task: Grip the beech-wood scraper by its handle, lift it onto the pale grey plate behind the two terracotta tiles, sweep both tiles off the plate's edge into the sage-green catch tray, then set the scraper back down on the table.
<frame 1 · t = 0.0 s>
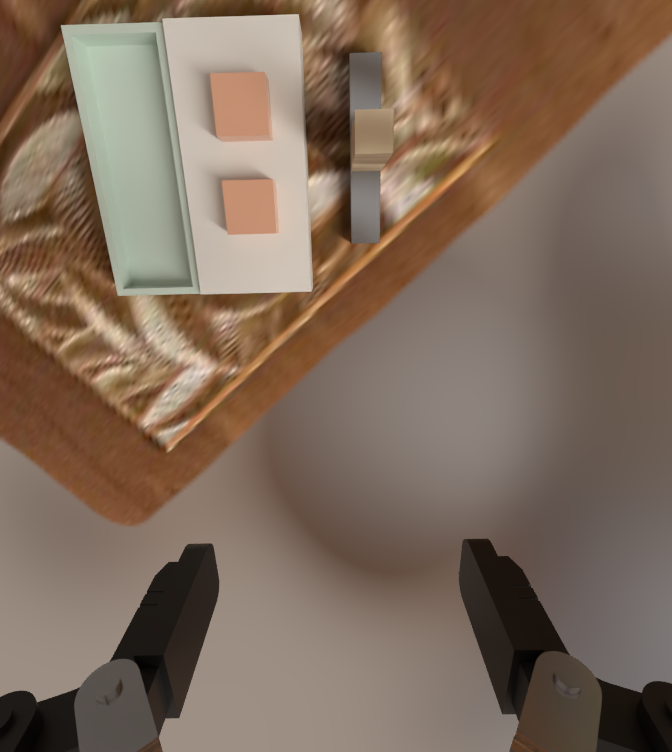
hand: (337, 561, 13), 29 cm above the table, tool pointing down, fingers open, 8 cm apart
tile b: (254, 208, 33), point 3 cm above the table, touching stone plate
catch tray: (150, 177, 35), on the table
stone plate: (251, 174, 35), on the table
scraper: (364, 158, 35), on the table
tile a: (245, 111, 31), point 3 cm above the table, touching stone plate
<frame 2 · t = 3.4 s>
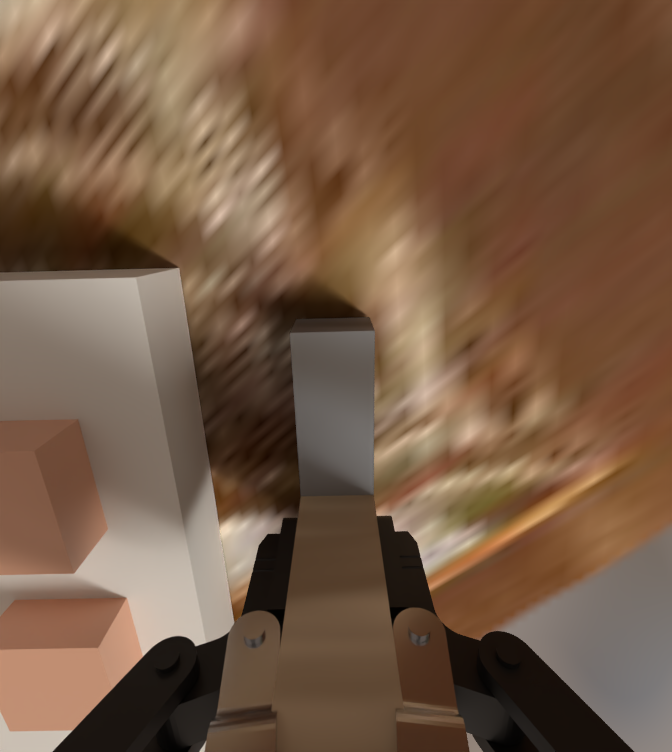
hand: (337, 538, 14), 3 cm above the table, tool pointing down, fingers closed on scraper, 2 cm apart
tile b: (84, 639, 15), point 3 cm above the table, touching stone plate
stone plate: (98, 518, 17), on the table
scraper: (337, 490, 16), on the table, touching gripper
tile a: (30, 478, 12), point 3 cm above the table, touching stone plate
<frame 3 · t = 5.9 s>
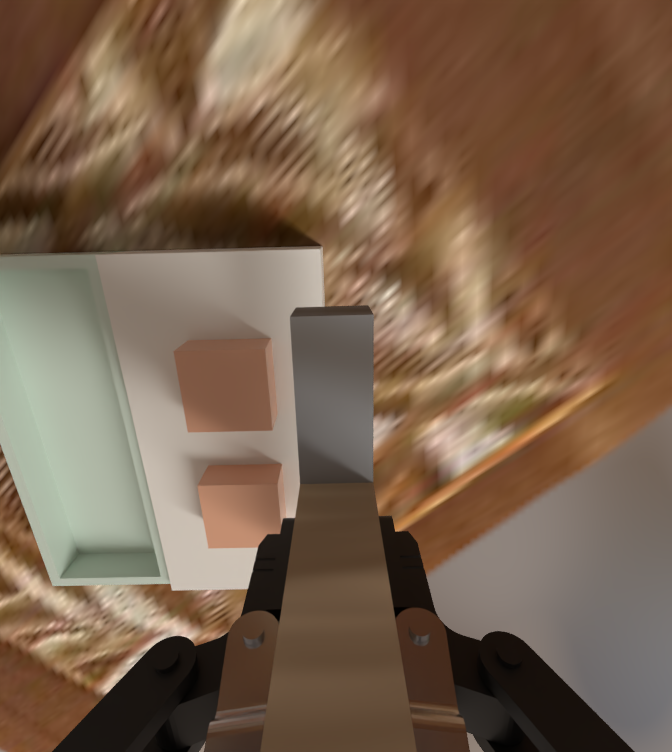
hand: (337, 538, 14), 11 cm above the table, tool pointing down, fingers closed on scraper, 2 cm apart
tile b: (248, 495, 22), point 3 cm above the table, touching stone plate
catch tray: (97, 425, 24), on the table
stone plate: (245, 422, 24), on the table
scraper: (337, 482, 16), point 8 cm above the table, touching gripper
tile a: (234, 378, 20), point 3 cm above the table, touching stone plate
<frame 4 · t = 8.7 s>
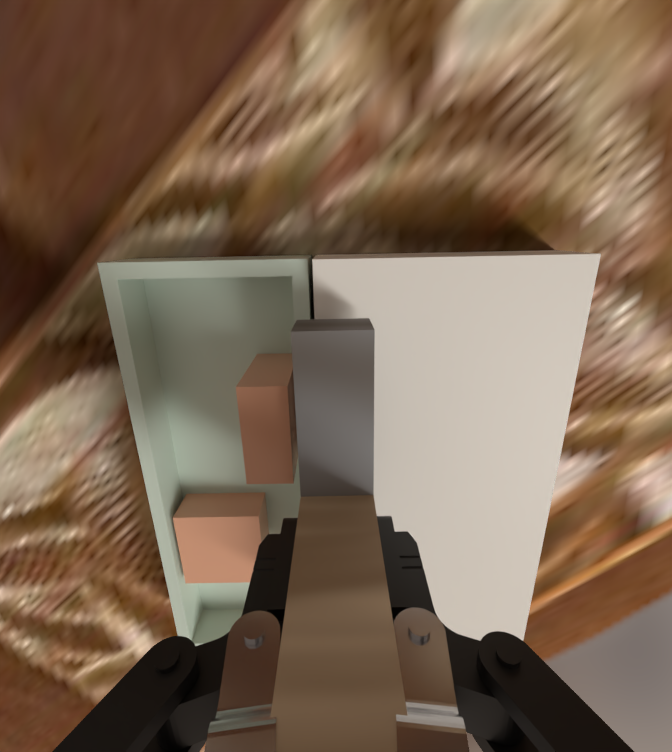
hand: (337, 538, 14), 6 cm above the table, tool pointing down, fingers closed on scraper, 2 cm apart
tile b: (220, 551, 19), point 2 cm above the table, tilted 180°, touching catch tray
catch tray: (244, 462, 20), on the table
stone plate: (422, 459, 20), on the table
scraper: (337, 492, 16), point 4 cm above the table, touching gripper
tile a: (295, 413, 16), point 2 cm above the table, tilted 90°, touching catch tray
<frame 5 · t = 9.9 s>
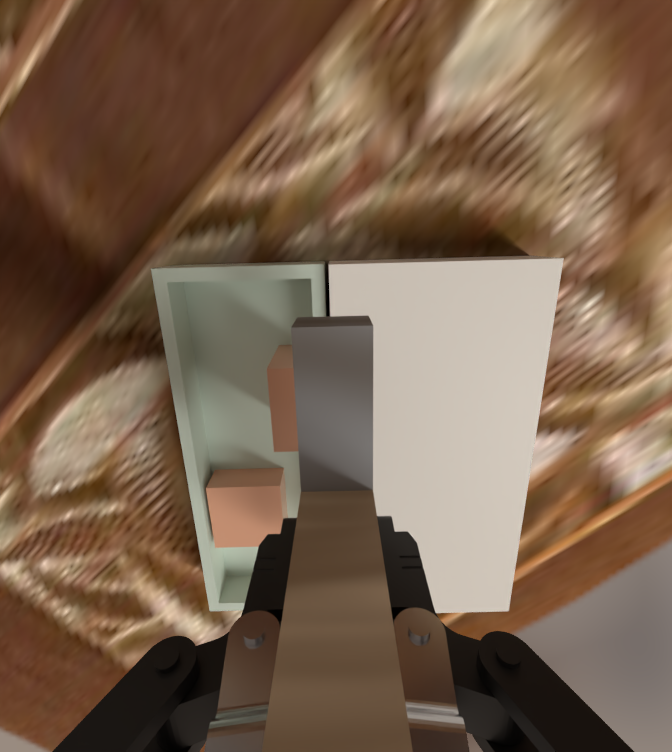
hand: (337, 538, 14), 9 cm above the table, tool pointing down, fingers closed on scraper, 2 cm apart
tile b: (246, 517, 22), point 2 cm above the table, tilted 180°, touching catch tray
catch tray: (265, 441, 23), on the table
stone plate: (420, 437, 23), on the table
scraper: (337, 489, 16), point 7 cm above the table, touching gripper
tile a: (313, 394, 19), point 2 cm above the table, tilted 90°, touching catch tray
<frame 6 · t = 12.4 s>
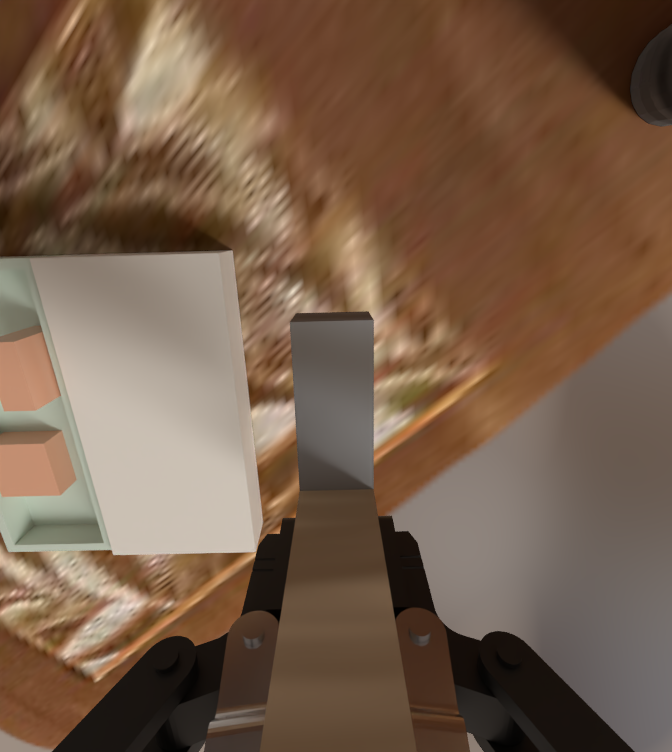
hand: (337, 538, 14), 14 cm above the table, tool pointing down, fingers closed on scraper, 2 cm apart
beverage cup: (671, 77, 21), on the table
tile b: (22, 471, 26), point 2 cm above the table, tilted 180°, touching catch tray
catch tray: (46, 408, 27), on the table
stone plate: (176, 405, 27), on the table
scraper: (337, 489, 16), point 12 cm above the table, touching gripper
tile a: (50, 365, 23), point 2 cm above the table, tilted 90°, touching catch tray
when the fingers open (4 cm above the table, at t = 14.3 s): scraper drops 2 cm, on the table.
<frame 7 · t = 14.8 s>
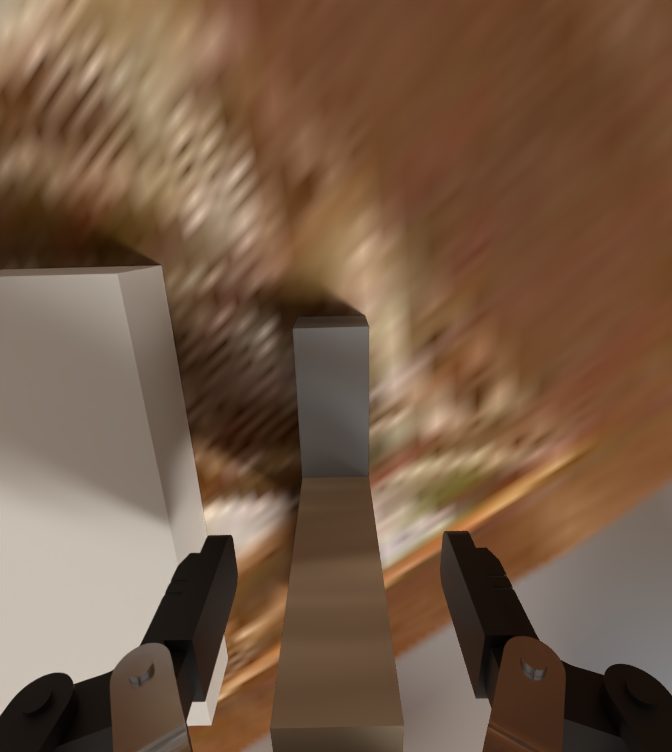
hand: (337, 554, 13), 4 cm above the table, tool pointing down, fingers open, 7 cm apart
stone plate: (88, 502, 17), on the table
scraper: (336, 475, 17), on the table
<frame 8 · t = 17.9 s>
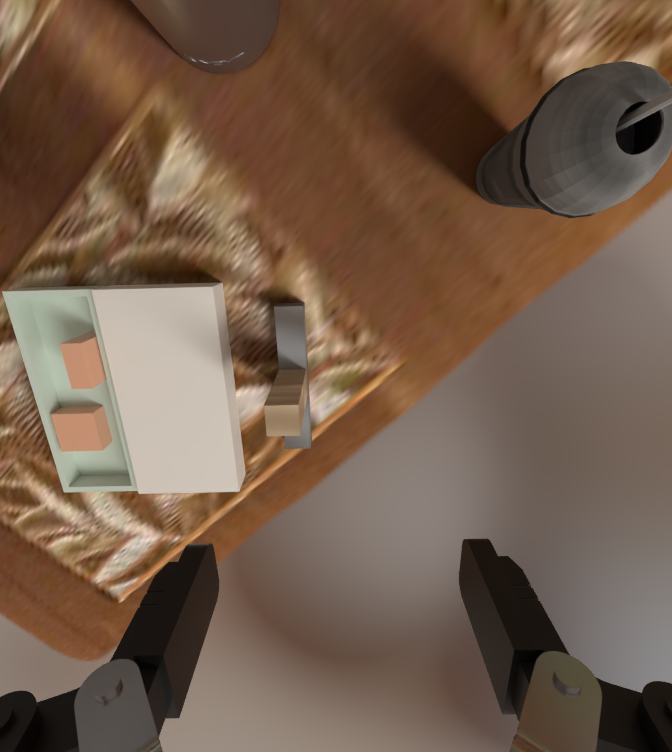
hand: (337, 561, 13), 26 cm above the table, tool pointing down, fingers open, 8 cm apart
beverage cup: (502, 175, 33), on the table
tile b: (77, 432, 38), point 2 cm above the table, tilted 180°, touching catch tray
catch tray: (92, 390, 39), on the table
stone plate: (184, 387, 39), on the table
scraper: (295, 374, 38), on the table
tile a: (100, 359, 35), point 2 cm above the table, tilted 90°, touching catch tray
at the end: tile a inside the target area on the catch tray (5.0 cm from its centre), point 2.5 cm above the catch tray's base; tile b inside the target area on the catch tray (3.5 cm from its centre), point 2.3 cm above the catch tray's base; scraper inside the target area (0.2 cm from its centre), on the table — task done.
